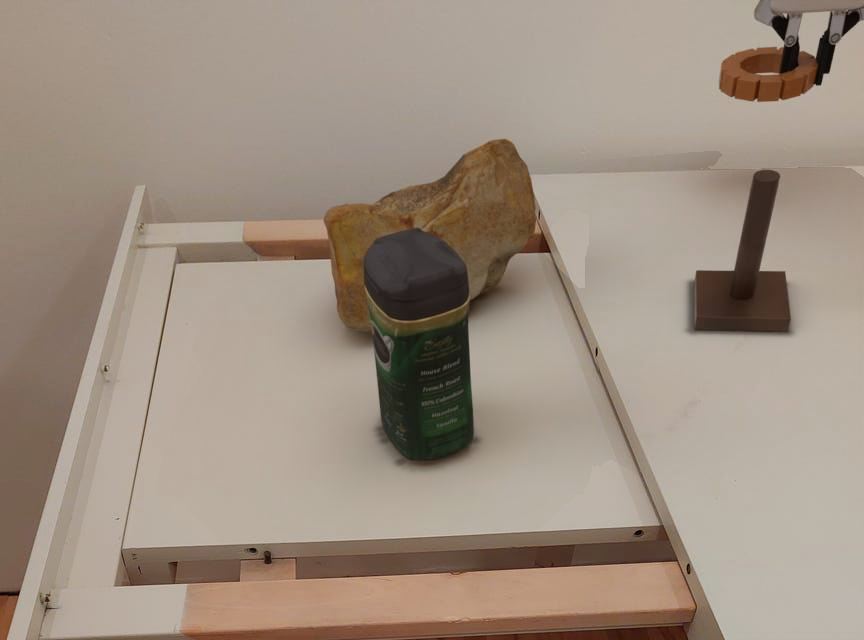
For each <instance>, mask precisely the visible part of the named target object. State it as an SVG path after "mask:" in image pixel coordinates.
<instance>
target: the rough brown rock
mask: <svg viewBox="0 0 864 640" xmlns="http://www.w3.org/2000/svg"><path fill="white" fill-rule="evenodd" d="M536 208H537V207H536V202H535V193H534V189H533V182H532V178H531V174H530V171H529V167H528V165H527V163H526V162H525V161H524V160H523V158H522V157H521V156H520V154H519V152H518V149H517V147H516V146H515V144H514V143H513V141H510V140H509V139H507V138H499V139H492V140H489V141H487V142H485V143H483V144H482V145H480V146H478V147H476V148H474V149H471V150H470V151H467V152H466V153H464V154H462V156H461V157H460V158H459V159H458V161H457V162H455V164H454V165H453V166H452V167H451V168H450V169H449V170H448V172H447V173H446V174H445V175H444V176H442V177H441V178H439V179H437V180H434V181H432V182H428V183H422V184H417V185H409V186H407V187H405V188H401V189H399V190H395V191H392V192H390V193H388V194H387V195H385V196H382V197H381V198H380V199H379V200H378V201H376V202H374V203H372V204H368V203H360V202H359V203H345V204H342V205H333V206H331V207H330V208H328V209H327V211H326V212H325V214H324V216H323V223H324V225H325V228H326V233H327V239H328V244H329V256H330V258H329V259H330V267H331V276H332V279H333V281H334V282H333V283H334V291H335V292H334V293H335V294H334V295H335V298H336V310H337V313H338V317H339V319H340V320H341V322H342V324H343V325H344V326H345V327H346V328H348V329H349V330H357V331H362V332H366V333H369V334H371V335H372V327H371V320H370V313H369V308H368V303H367V297H366V292H365V285H364V267H363V262H364V257H365V254H366V252H367V250H368V249H369V248H370V246H371V245H372V244H373V243H374V241H375V240H376V238H379V237H382V236H385V235H388V234H392V233H396V232H399V231H403V230H408V229H412V228H420V229H421V230H422V231H425V232H428V233H430V234H433V235H435V236H437V237H439V238H441V239H442V240H444V241H445V242H446V243H447V244H448V245H449V246H450V247H451V248H452V249H453V250H454V251H455V252H456V253H457V254H458V255H459V256H460V257H461V259H462V260H463V261H464V263H465V264H466V267H467V273H468V282H469V293H470V301H472V300H474V299H475V298H476V297H478V296H479V295H480V294H481V293H485V292H487V291H490V290H491V289H494V288H495V287H496V286H497V285H498V284H499V283H500V282H501V281H502V278H503V276H504V274H505V272H506V270H507V266H508V264H509V262H510V261H511V259H512V258H513V257H515V255H517V254H519V253H521V251H522V250H523V248H524V247H525V246H526V244H527V243H528V241H529V240H530V239H532V238H533V237H534V234H535V231H536V224H537V216H536Z"/></svg>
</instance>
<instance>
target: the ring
mask: <svg viewBox="0 0 864 640" xmlns="http://www.w3.org/2000/svg"><path fill="white" fill-rule="evenodd" d="M783 48H784V46H781V47H779V48H778V47H777V46H766V47H756V49H755V48H748V49H745V50H741V51H737V52H735V53H732V54H731V55H729V56H728V57H726V58H725V59H723V60H722V62H721V63H720V70H719V76H718V77H719V78H718V89H719V90H720V92H721V93H723V94H724V95H726V96H728V97H729V98H734V99H735V100H741V101H746V102H747V101H748V102H754V101H756V102H757V103H765V102H766V103H767V102H768V103H769V102H779V101H780V100H781V101H786V100H789V99H793V98H798V97H800V96H801V95H805V94H806V93H808V92H809V91H810V90H811V89H812V88H813V87H814V85H815V84H814V82H815V77H816V72H817V68H818V63H817V59H816V55H812V54H811V53H810V52H809V53H808V52H806V51H805V50H801V51H799V56H798V61H797V66H796V68H795V69H794V70H792V71H790V72H786V73H782V74H779V70H780V64H781V59H782V53H783ZM768 73H769V74H768ZM771 73H772V74H771Z"/></svg>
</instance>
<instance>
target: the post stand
mask: <svg viewBox="0 0 864 640" xmlns="http://www.w3.org/2000/svg"><path fill="white" fill-rule="evenodd" d="M780 179H781V174H780V173H779V172H778V171H776V170H772V169H760V170H757V171H755V172H754V173H753V174H752V179H751V184H750V189H749V195H748V200H747V204H746V211H745V214H744V218H743V223H742V229H741V234H740V240H739V243H738V250H737V254H736V260H735V264H734V269H733V270H707V269H706V270H702V269H699V270H698V269H697V270H696V271H695V276H694V281H693V298H694V299H693V308H694V309H693V313H694V314H693V317H694V318H693V319H694V321H693V324H694V325H693V326H694V328H693V329H694V330H695V331H731V332H733V331H737V332H738V331H739V332H779V333H781V332H782V333H787V332H789V328H790V324H791V320H792V318H791V309H790V299H789V292H788V282H787V275H786V274H787V273H786V271H785V270H761V265H762V261H763V256H764V252H765V247H766V242H767V238H768V234H769V230H770V225H771V221H772V217H773V216H772V215H773V211H774V207H775V203H776V197H777V194H778V189H779V184H780Z"/></svg>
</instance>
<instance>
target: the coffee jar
mask: <svg viewBox="0 0 864 640" xmlns="http://www.w3.org/2000/svg"><path fill="white" fill-rule="evenodd" d="M363 267H364V285H365V292H366V297H367V303H368V308H369V313H370V320H371V327H372V334H371V335H372V342H373V343H372V344H373V352H374V353H373V354H374V361H375V370H376V372H375V373H376V382H377V389H378V390H377V393H378V403H379V414H380V421H381V424H382V428H383V430H384V432H385V434H386V436H387V438H388V439H389V441H390V442H391V444H392V445H393V446H394V448H395V449H396V450H397V451H398V452H399V454H401V456H403V458H404V459H407V460H409V461H413V462H435V461H440V460H443V459H447V458H450V457H451V456H454V455H456V454H458V453H459V452H461V451H463V450H465V449H466V448H467V447H468V446H470V444H471V443H472V442H473V439H474V436H475V425H474V424H475V422H474V404H473V403H474V402H473V390H472V375H471V355H470V353H471V351H470V334H469V333H470V332H469V330H470V329H469V315H470V314H469V313H470V312H469V311H470V303H471V300H470V293H469V282H468V273H467V267H466V264H465V263H464V261H463V260H462V259H461V257H460V256H459V255H458V254H457V253H456V252H455V251H454V250H453V249H452V248H451V247H450V246H449V245H448V244H447V243H446V242H445V241H444V240H442V239H441V238H439V237H437V236H435V235H433V234H430V233H428V232H425V231H422V230H421V229H420V228H412V229H408V230H403V231H399V232H396V233H392V234H388V235H385V236H382V237H379V238H376V240H375V241H374V243H373V244H372V245H371V246H370V248H369V249H368V250H367V252H366V254H365V257H364V262H363Z"/></svg>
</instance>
